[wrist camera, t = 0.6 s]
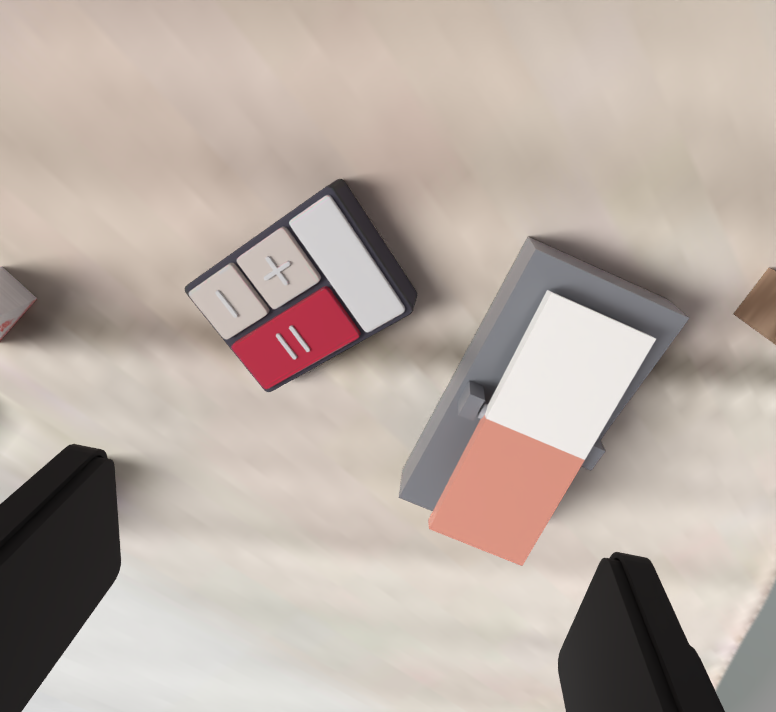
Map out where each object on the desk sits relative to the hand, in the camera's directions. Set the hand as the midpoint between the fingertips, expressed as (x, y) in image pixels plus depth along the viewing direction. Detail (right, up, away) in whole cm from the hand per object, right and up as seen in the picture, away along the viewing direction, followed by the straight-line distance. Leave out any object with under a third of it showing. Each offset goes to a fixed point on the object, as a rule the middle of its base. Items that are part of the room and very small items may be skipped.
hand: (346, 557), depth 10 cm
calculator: (-6, +10, +34) cm, 36 cm away
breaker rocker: (+12, -2, +30) cm, 32 cm away
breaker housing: (+12, +1, +35) cm, 38 cm away
